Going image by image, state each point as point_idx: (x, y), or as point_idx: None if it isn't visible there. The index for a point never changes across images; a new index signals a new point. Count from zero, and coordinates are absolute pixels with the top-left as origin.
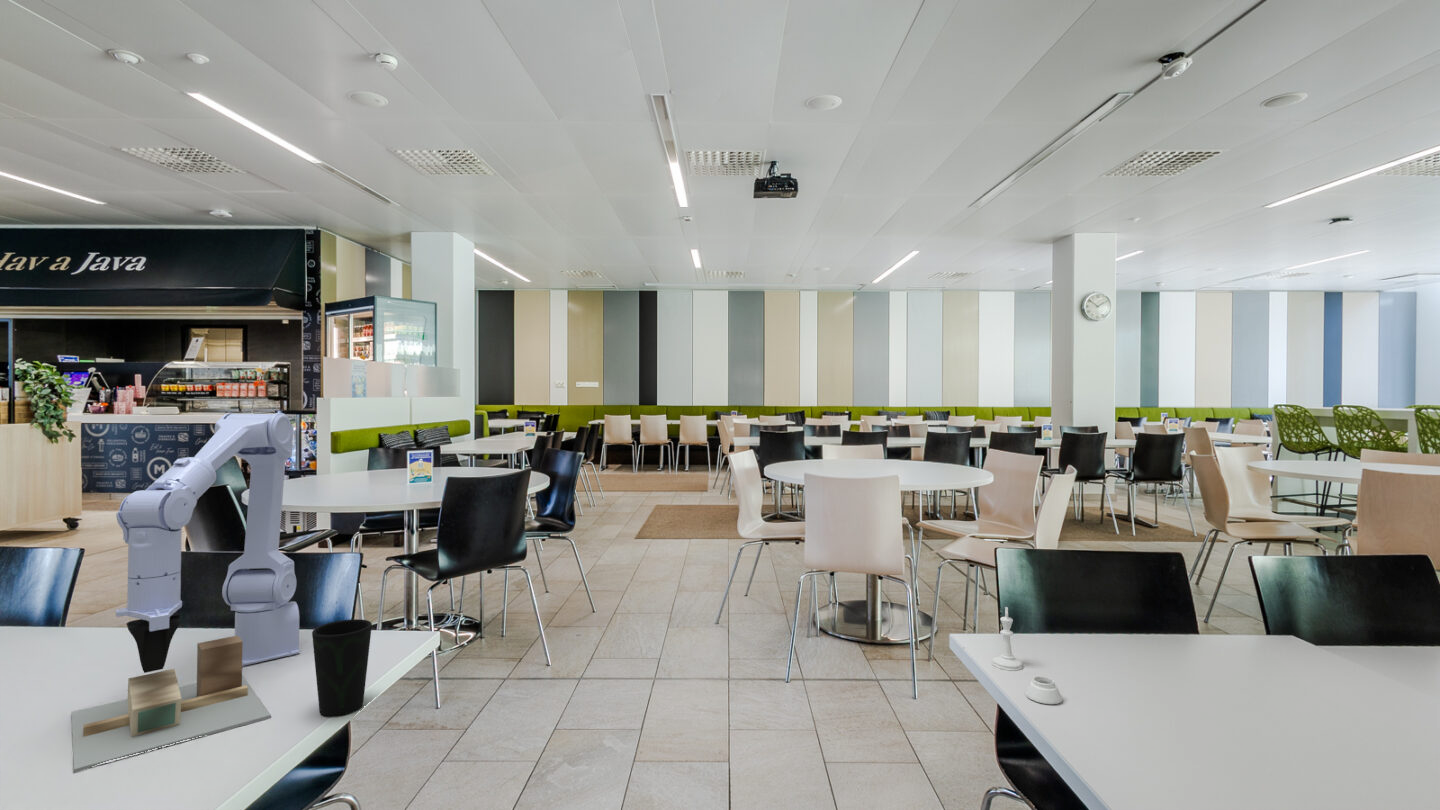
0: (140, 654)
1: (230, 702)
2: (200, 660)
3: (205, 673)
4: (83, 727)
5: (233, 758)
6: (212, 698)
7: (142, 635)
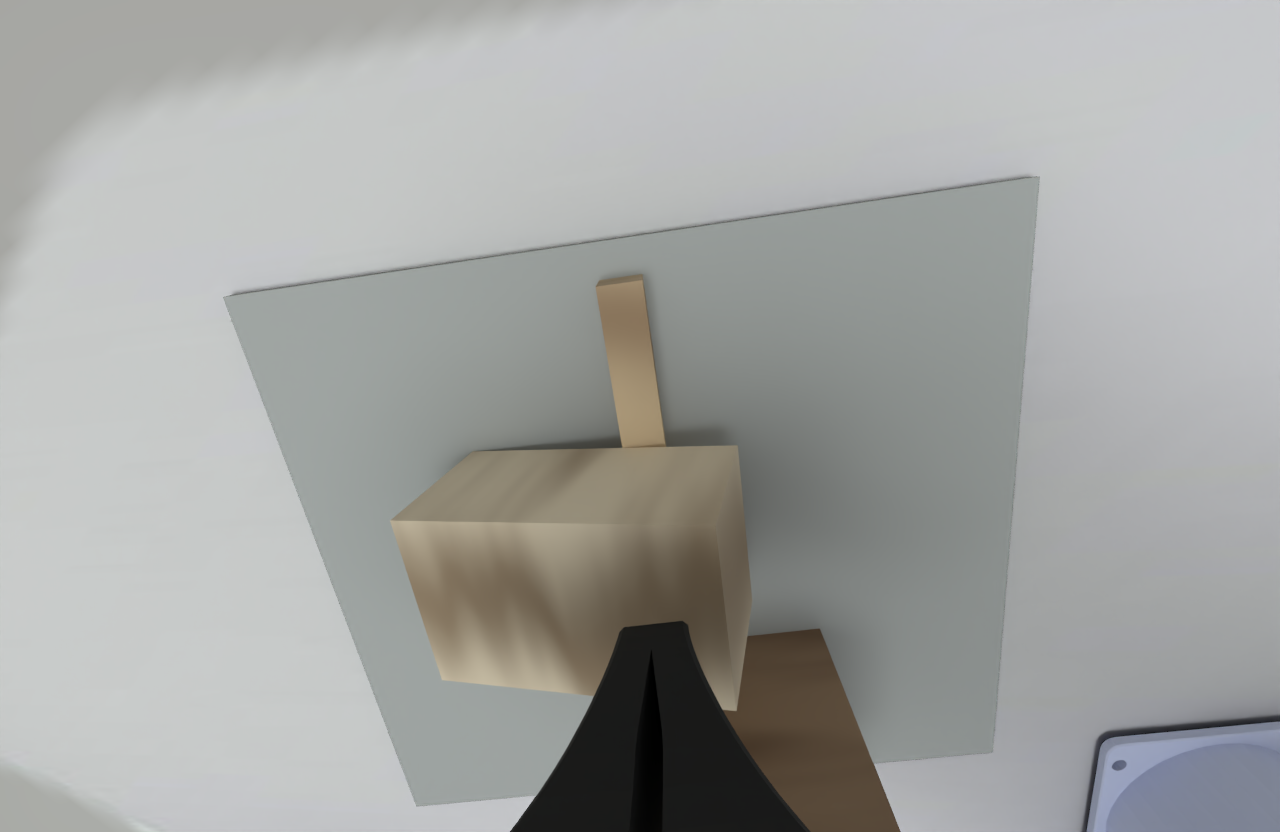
0: (577, 730)
1: None
2: None
3: None
4: (598, 286)
5: (126, 708)
6: None
7: None
